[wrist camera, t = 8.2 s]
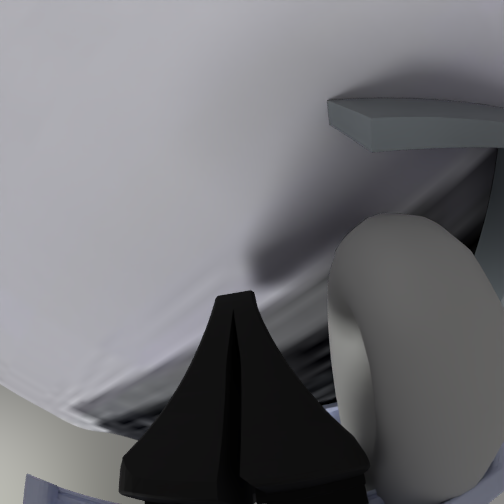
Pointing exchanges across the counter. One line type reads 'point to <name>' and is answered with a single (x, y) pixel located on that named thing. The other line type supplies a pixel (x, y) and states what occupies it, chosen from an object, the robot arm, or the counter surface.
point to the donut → (416, 357)
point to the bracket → (435, 136)
